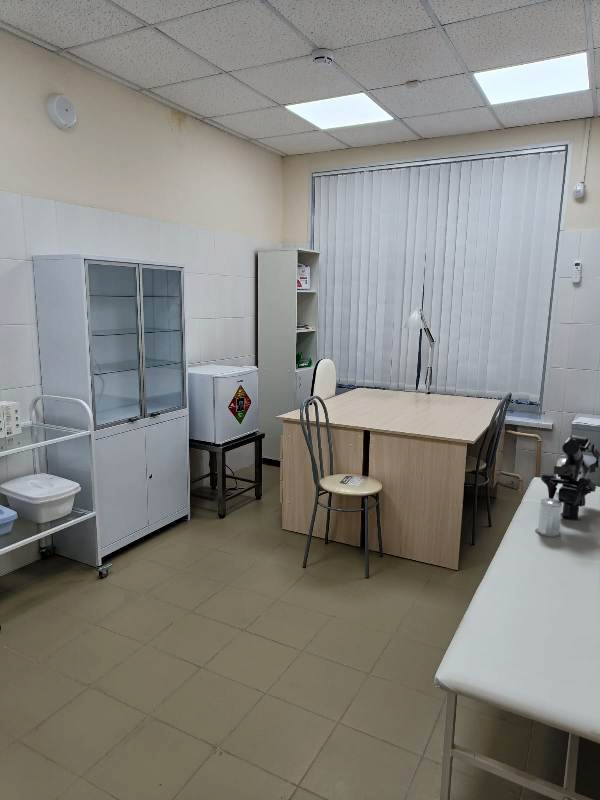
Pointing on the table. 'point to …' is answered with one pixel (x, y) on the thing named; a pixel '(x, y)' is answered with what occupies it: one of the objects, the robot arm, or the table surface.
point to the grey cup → (549, 517)
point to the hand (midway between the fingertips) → (561, 503)
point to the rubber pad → (547, 536)
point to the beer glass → (559, 463)
